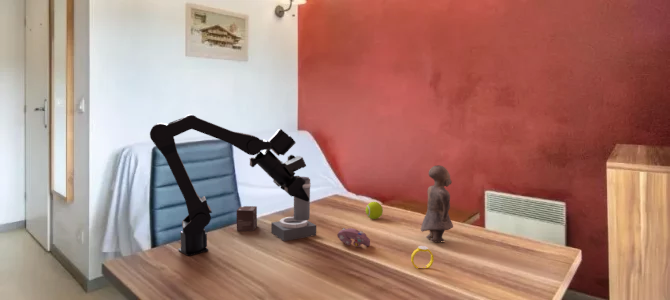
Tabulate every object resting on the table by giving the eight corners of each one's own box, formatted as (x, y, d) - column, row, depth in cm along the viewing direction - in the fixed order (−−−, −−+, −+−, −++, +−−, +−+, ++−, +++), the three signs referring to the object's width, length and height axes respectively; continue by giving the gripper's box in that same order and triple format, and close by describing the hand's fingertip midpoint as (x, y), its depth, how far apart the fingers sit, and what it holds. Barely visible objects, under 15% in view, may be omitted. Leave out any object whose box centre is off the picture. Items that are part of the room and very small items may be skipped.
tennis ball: (362, 216, 159) (363, 200, 158) (378, 215, 161) (378, 199, 160) (369, 221, 153) (369, 204, 152) (385, 220, 155) (385, 203, 154)
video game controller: (338, 248, 128) (334, 231, 125) (344, 238, 132) (340, 222, 128) (366, 253, 124) (363, 237, 121) (372, 243, 127) (368, 226, 124)
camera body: (283, 241, 129) (283, 226, 129) (271, 232, 138) (271, 219, 137) (316, 235, 136) (316, 221, 135) (302, 227, 144) (302, 214, 144)
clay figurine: (459, 246, 127) (463, 168, 125) (430, 248, 125) (434, 169, 123) (440, 233, 140) (443, 162, 137) (413, 235, 138) (416, 163, 135)
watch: (430, 266, 112) (432, 246, 111) (433, 271, 109) (436, 249, 108) (409, 265, 111) (411, 245, 110) (412, 269, 108) (414, 248, 108)
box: (253, 231, 139) (253, 210, 138) (236, 230, 139) (236, 210, 138) (257, 226, 145) (257, 206, 144) (240, 225, 145) (240, 205, 144)
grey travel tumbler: (303, 221, 128) (303, 180, 126) (289, 218, 130) (290, 178, 129) (313, 218, 132) (313, 177, 131) (299, 215, 135) (300, 175, 134)
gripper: (299, 151, 119) (333, 185, 124) (282, 144, 136) (313, 175, 141) (273, 178, 117) (308, 212, 122) (259, 168, 134) (291, 199, 139)
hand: (305, 198), depth 131 cm, fingers closed on grey travel tumbler, 5 cm apart
